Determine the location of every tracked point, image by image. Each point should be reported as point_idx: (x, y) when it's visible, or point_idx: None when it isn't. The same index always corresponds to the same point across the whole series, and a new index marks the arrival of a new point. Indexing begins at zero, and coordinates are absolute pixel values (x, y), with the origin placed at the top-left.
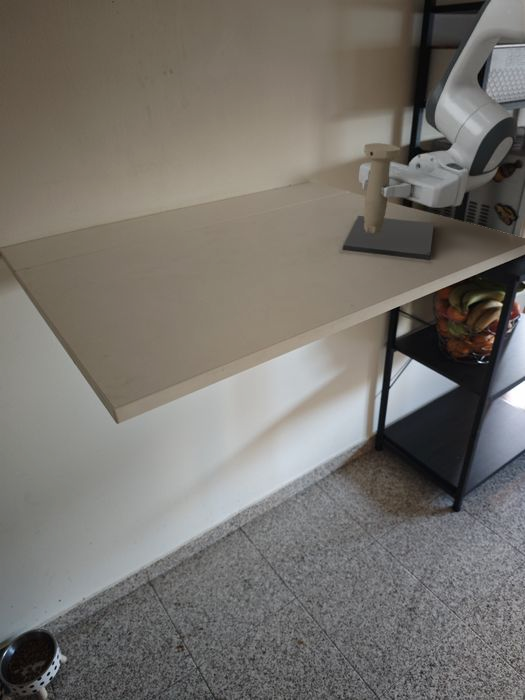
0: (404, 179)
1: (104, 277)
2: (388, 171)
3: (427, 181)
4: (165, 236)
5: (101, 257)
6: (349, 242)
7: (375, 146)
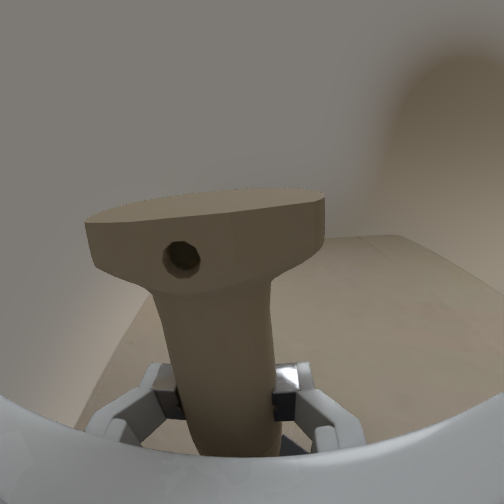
0: (119, 442)
1: (328, 254)
2: (164, 334)
3: (6, 432)
4: (416, 280)
5: (370, 254)
6: (290, 452)
7: (240, 194)
